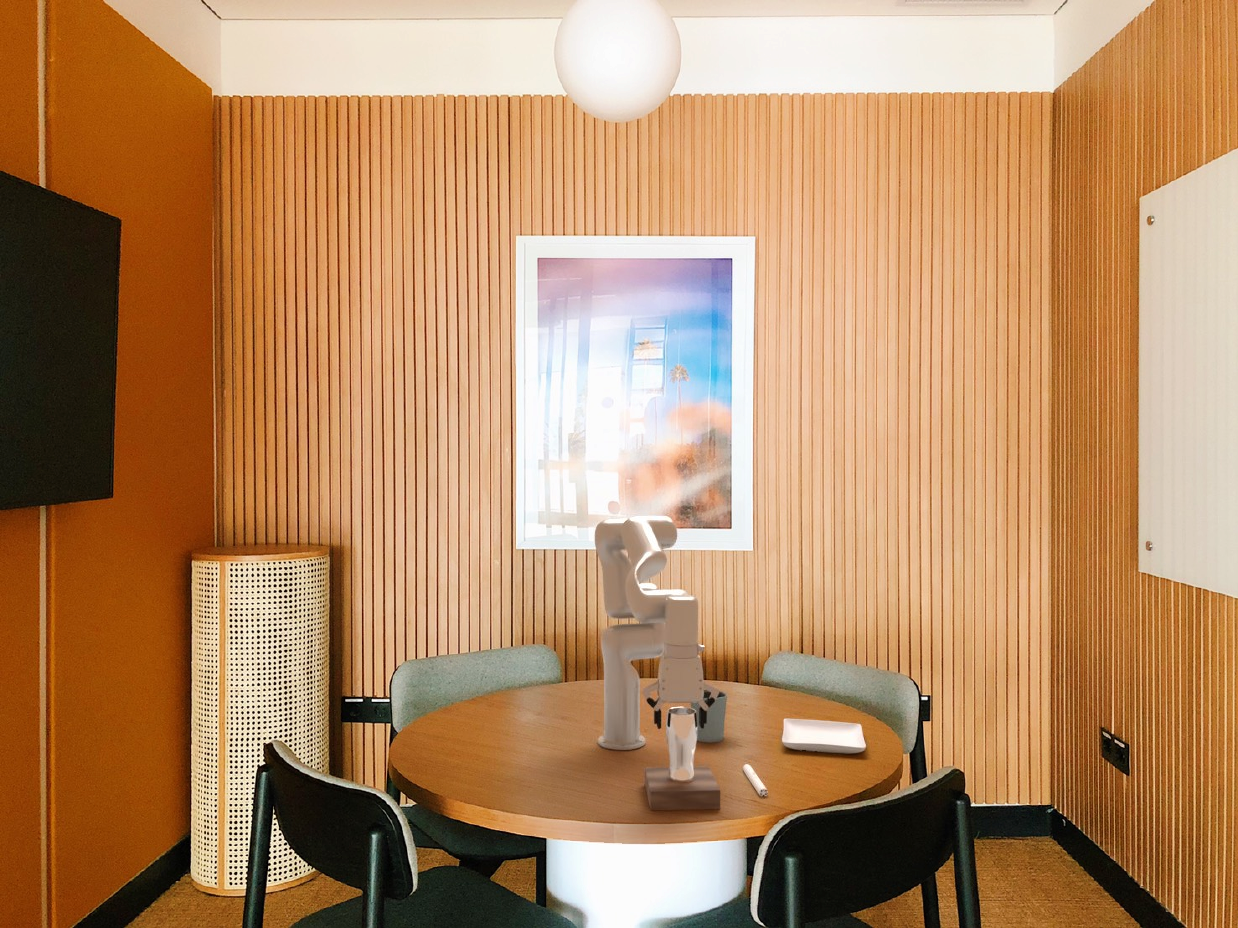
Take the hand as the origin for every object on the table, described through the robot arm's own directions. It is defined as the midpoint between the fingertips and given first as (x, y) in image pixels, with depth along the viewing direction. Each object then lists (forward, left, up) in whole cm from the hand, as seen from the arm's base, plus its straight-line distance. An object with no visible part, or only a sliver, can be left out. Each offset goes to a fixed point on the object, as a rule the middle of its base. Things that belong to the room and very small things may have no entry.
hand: (680, 726), depth 190 cm
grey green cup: (-42, +13, -16) cm, 46 cm away
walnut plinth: (0, 0, -15) cm, 15 cm away
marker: (-8, +18, -16) cm, 25 cm away
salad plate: (-36, +43, -16) cm, 58 cm away
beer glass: (0, 0, -12) cm, 12 cm away
